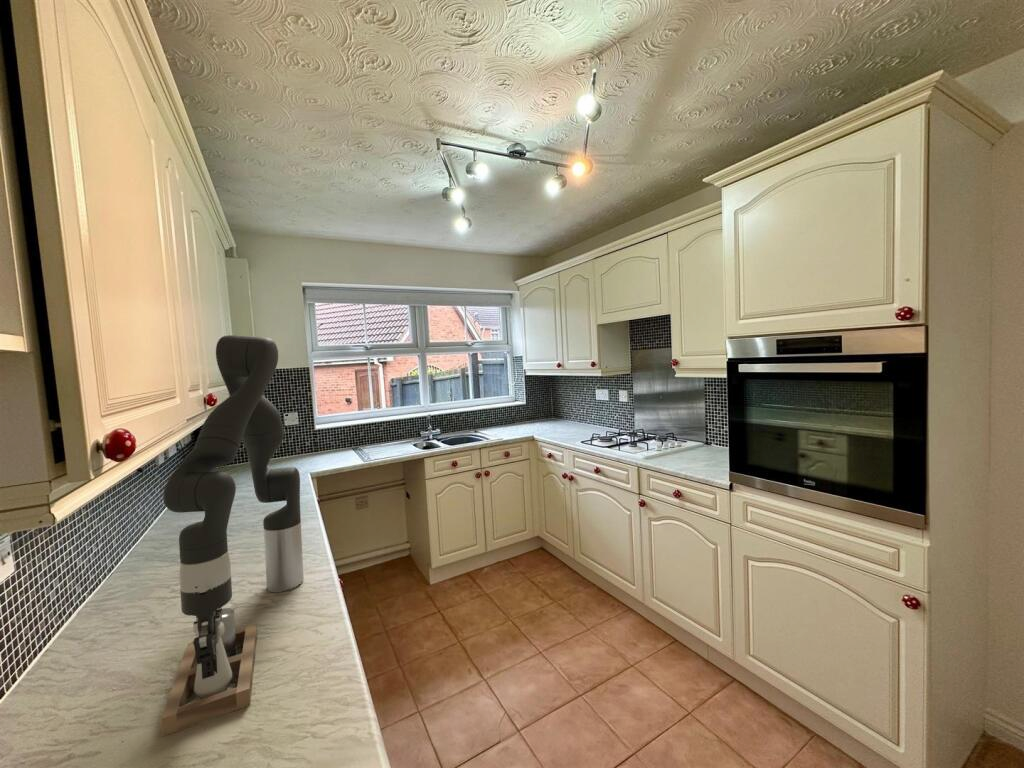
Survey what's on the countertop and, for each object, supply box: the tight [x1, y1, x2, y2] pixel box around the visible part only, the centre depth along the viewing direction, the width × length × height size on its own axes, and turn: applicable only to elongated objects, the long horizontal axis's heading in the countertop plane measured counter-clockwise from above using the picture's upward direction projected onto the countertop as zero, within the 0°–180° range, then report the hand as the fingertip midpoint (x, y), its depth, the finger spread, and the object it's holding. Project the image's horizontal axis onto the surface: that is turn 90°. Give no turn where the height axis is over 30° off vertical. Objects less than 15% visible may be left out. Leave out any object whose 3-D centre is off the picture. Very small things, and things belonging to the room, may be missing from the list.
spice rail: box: [160, 624, 258, 737], centre depth 81 cm, size 22×12×3 cm, turn 29°
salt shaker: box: [193, 622, 233, 700], centre depth 76 cm, size 6×6×13 cm
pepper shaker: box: [221, 607, 238, 658], centre depth 85 cm, size 6×6×10 cm
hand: (211, 670), depth 76 cm, fingers open, 3 cm apart
